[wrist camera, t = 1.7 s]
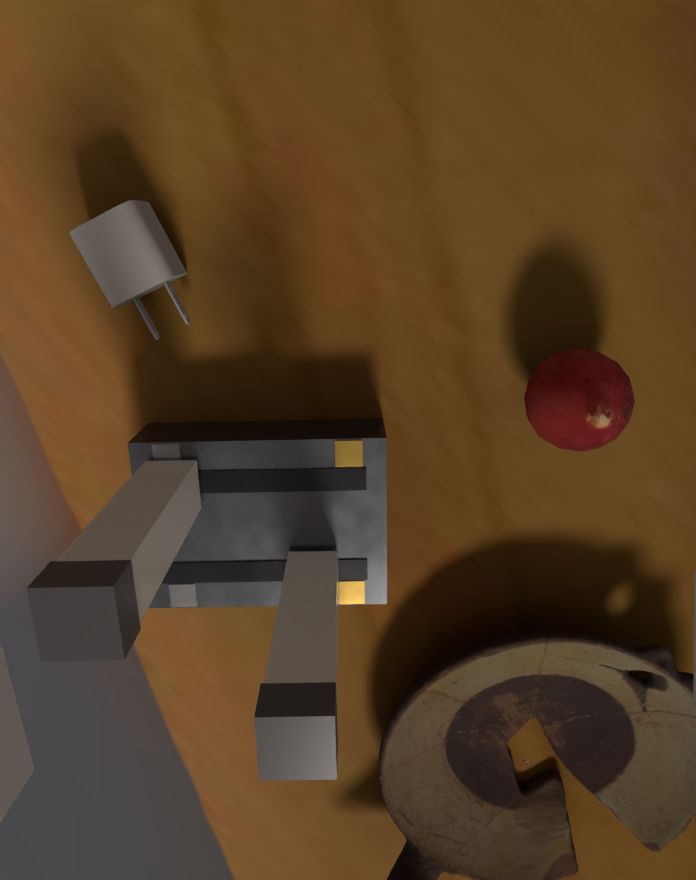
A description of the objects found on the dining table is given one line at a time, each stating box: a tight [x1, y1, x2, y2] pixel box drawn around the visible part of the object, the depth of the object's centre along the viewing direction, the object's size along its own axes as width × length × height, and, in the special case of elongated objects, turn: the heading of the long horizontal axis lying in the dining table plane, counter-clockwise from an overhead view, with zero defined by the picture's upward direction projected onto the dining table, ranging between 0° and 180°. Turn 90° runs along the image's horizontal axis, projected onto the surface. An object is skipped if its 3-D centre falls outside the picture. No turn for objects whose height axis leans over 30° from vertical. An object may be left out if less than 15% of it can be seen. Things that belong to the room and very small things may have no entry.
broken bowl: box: [378, 631, 696, 880], centre depth 45 cm, size 22×30×8 cm
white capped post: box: [254, 551, 339, 781], centre depth 32 cm, size 3×3×14 cm
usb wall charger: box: [69, 200, 191, 340], centre depth 36 cm, size 4×7×4 cm, turn 25°
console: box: [128, 419, 387, 608], centre depth 40 cm, size 11×15×4 cm
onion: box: [524, 349, 635, 451], centre depth 36 cm, size 6×6×8 cm
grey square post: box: [27, 460, 201, 661], centre depth 31 cm, size 3×3×14 cm
